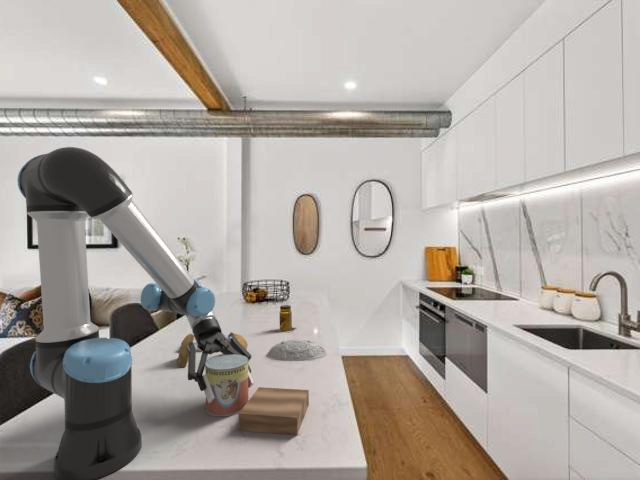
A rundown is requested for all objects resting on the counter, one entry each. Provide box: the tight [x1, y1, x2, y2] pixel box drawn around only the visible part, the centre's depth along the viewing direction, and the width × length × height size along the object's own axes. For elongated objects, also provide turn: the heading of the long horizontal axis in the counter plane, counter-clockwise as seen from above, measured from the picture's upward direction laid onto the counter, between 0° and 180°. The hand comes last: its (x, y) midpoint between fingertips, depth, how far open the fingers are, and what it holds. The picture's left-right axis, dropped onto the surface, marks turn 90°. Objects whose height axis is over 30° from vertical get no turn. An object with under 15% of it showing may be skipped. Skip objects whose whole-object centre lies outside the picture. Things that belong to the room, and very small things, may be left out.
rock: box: [176, 333, 194, 368], centre depth 123 cm, size 11×9×10 cm
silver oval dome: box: [266, 339, 327, 362], centre depth 131 cm, size 16×25×7 cm, turn 90°
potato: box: [222, 333, 248, 355], centre depth 127 cm, size 10×14×8 cm
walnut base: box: [238, 386, 310, 436], centre depth 84 cm, size 14×14×4 cm
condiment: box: [277, 304, 297, 333], centre depth 166 cm, size 7×8×12 cm
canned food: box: [205, 354, 250, 417], centre depth 90 cm, size 11×11×12 cm
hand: (232, 392), depth 89 cm, fingers closed on canned food, 11 cm apart
